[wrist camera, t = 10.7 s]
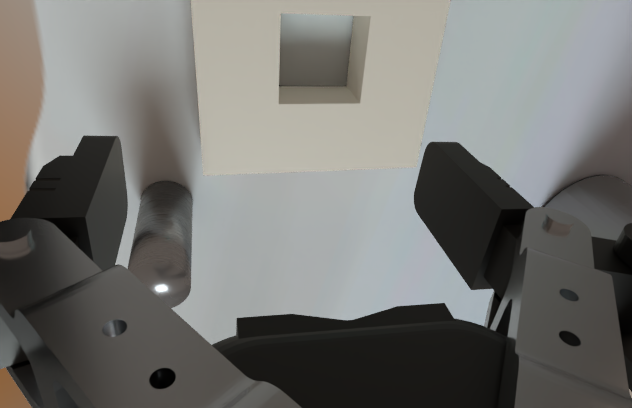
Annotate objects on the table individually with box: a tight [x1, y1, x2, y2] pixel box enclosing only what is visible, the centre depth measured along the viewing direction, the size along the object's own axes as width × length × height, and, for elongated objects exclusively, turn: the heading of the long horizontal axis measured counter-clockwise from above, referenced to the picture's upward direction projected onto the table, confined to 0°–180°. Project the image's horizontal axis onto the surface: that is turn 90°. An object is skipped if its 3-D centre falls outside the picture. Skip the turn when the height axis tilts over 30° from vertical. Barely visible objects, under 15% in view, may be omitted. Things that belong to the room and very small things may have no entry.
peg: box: [128, 181, 193, 308], centre depth 27 cm, size 3×3×8 cm
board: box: [191, 0, 451, 176], centre depth 25 cm, size 13×13×3 cm
